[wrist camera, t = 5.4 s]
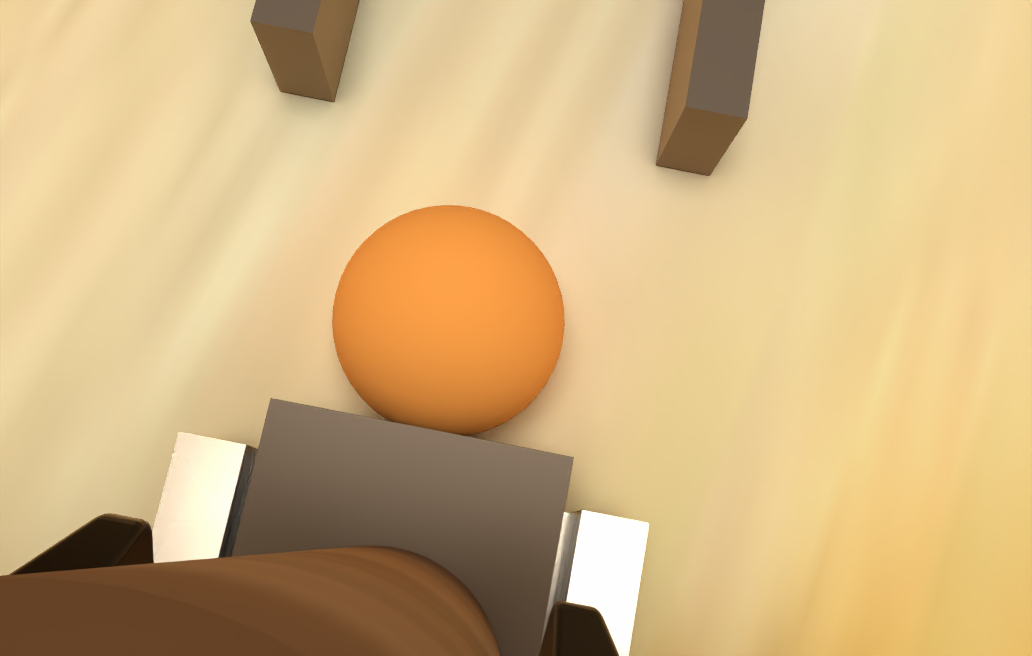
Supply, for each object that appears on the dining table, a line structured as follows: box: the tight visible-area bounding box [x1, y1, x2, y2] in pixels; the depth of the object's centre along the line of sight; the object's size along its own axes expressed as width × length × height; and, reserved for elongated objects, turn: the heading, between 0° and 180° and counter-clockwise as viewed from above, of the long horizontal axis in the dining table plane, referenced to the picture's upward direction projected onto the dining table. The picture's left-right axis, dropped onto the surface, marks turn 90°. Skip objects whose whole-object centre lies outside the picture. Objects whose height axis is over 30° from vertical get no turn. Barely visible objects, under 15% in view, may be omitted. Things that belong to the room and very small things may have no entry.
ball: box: [332, 205, 564, 436], centre depth 15 cm, size 4×4×4 cm
